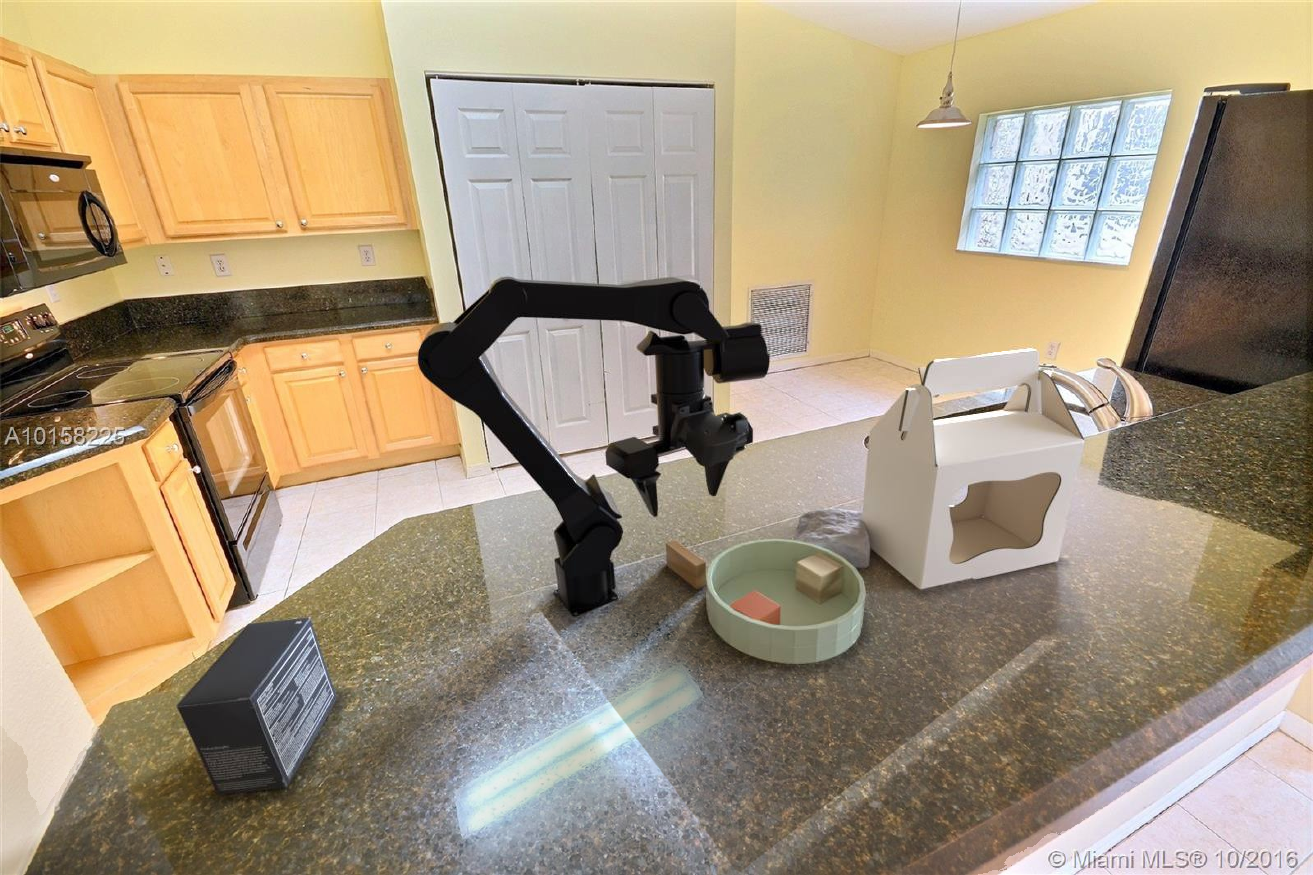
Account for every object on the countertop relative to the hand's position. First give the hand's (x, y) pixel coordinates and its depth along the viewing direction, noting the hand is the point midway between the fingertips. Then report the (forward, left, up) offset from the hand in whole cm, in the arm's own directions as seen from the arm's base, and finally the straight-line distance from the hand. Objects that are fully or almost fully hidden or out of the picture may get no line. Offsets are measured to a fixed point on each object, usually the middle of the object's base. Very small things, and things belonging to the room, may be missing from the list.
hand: (684, 505), depth 74 cm
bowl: (+5, -13, -11) cm, 18 cm away
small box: (-47, +1, -11) cm, 48 cm away
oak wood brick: (0, 0, -11) cm, 11 cm away
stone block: (+21, -6, -11) cm, 24 cm away
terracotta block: (-1, -14, -10) cm, 18 cm away
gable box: (+34, -17, -11) cm, 40 cm away
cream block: (+11, -13, -10) cm, 20 cm away
